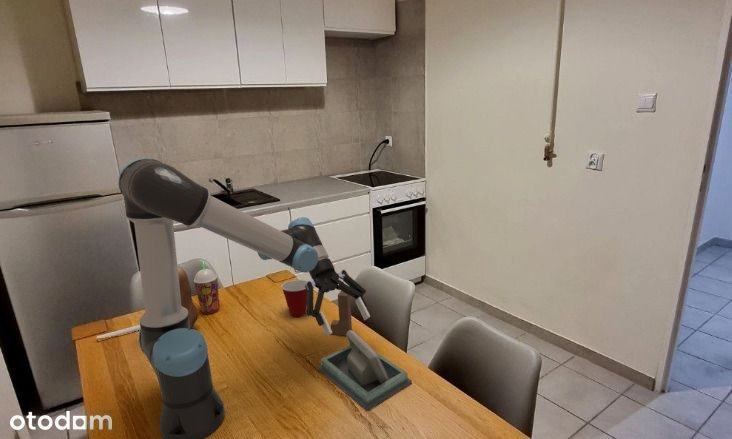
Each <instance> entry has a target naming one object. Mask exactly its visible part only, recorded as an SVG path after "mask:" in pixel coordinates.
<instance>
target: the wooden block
mask: <svg viewBox="0 0 732 439" xmlns="http://www.w3.org/2000/svg"><path fill="white" fill-rule="evenodd" d="M337 301H338V302H337V304H338V307H337V308H338V319H333V320H332V321H331V323H330V328H331V330H332V332H333V333H331V334H330V335H336V336H344V337H347V336H346V334H347V332H348V331H349V330H353V324H352V305H351V303H352V302H351V296H350V295H348V294H346V293H345V292H343V291H341V290H339V293H338V294H337Z"/></svg>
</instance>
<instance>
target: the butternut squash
mask: <svg viewBox="0 0 732 439" xmlns="http://www.w3.org/2000/svg"><path fill="white" fill-rule="evenodd" d="M177 267H178V277H179V287H180V297H181V306H183V307H184V308H186V309H187V310H188V315H189V324H190V330H191V329H193V327H194V326H195V324H196V322H197V321H198V316H199V314H198V313H199V311H198V308H197V306H196V304H195V303H194V302H193V297H192V288H191V285H190V281H189V277H188V274H187V272H186V271H185V269H184V268H183V267H181V266H179V265H177Z"/></svg>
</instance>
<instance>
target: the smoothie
mask: <svg viewBox="0 0 732 439" xmlns="http://www.w3.org/2000/svg"><path fill="white" fill-rule="evenodd" d="M201 263H202V269H200V270H198V271H197V272H196V274H195V275H194V279H193V282H194V287H195V291H196V295H197V299H198V302H199V303H198V304H199V307H200V308H199V309H200V311H201V312H202V313H203V314H205V315H213V314H215V313H217V312H218V311H219V308H220V297H219V296H220V295H219V284H218V275H217V274H216V272H214V270H213V269H210V268H206V267H205V262H204V261H203V262H201Z"/></svg>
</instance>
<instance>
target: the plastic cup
mask: <svg viewBox="0 0 732 439" xmlns="http://www.w3.org/2000/svg"><path fill="white" fill-rule="evenodd" d="M308 281H309V280H305V279H294V280H293V279H292V280H288V281H285V282H283V283H282V284H281V285H280V289H281V290H282V292H283V295H284V298H285V302H286V305H287V306H286V307H287V308H288V311H289V314H290V316H291V317H293V318H300V317H303V316H305V315H307V314H306V313H307V291H306V288H305V285H306V284H307V282H308Z"/></svg>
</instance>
